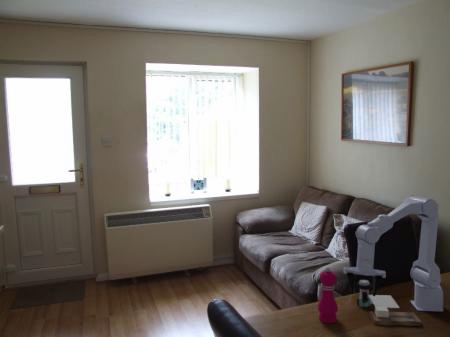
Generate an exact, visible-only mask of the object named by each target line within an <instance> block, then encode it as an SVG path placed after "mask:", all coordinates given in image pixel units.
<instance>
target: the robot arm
mask: <svg viewBox="0 0 450 337" xmlns="http://www.w3.org/2000/svg"><path fill="white" fill-rule="evenodd" d="M438 212H439V203H437V201H436V200H434V199H433V198H427V197H423V196H418V195H414V194H411V195H409V196H408V197H407V198H404V200H403V202H402V203H401V204H400V205H398V206H396V208H394V209H393V210H392V211H391V212H389V213H387V214H384V213H383V214H379V215H377V217H376V218H374V219H373V220H372V221H369V222H367V224H362V225H359V226H358V227H357V229H356V231H354V232H355V237H356V239H357V253H356V254H357V256H356V266H350V267H349V266H348V267H346V266H344V267H343V274H345V275H346V277H347V279H348V283H349V289H350V295H354V293H355V292H354V291H355V290H354V289H355V288H354V287H355V275H360V276H367V277H368V276H371V277H372V287H371V295H373V296H375V295H377V292H378V290H379V287H380V286H381V285H382V284H383V282H384V279H386V277H387V274H386V273H387V272H386V271H385V270H381V269H374V263H375V262H374V261H375V249H376V248H375V247H376V243H377V242H378V241H379V239H380V237H381V236H382V235H384V233H386V232H388V231H389V230H391V229H392V228H393V227H394V223H396V222H397V221H399V220H401V219H402V218H405V217H406V216H407V215H410V214H414V215H416V216H417V217H418V218H419V219H420V220H421V229H420V236H419V248H418V249H419V250H418V258H417V260H415V261H413V262H412V267H411V269H410V273H409V274H410V277H411V279H412V280H413V283H414V298H413V300H410V301H409V302H410V303H411V305H412V306H413V307H414V308H415V309H416V310H417V311H419V312H444V291H443V288H442V286H441V285H440V284H441V282H442V276H441V273H440V272H441V269H440V268H439V266H438V265H437V264H436V262H435V258H436V248H437V247H436V246H437V238H438V237H437V236H438V226H439V213H438Z"/></svg>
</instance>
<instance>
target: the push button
mask: <svg viewBox="0 0 450 337" xmlns="http://www.w3.org/2000/svg"><path fill="white" fill-rule="evenodd" d="M356 285H357V288H358V290H359V298H357V299H356V305H357V306H358V307H359V308H367V307H370V306H371V304H373V303H372V301H373V300H371V299H370V298H369V295H370V294H369V293H370V290H372V287H373V283H371V282H370V281H369V280H367V279H359V281H357V283H356Z"/></svg>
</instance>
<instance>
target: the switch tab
mask: <svg viewBox="0 0 450 337" xmlns="http://www.w3.org/2000/svg"><path fill="white" fill-rule="evenodd" d="M374 311H375V314H376V316H377V317H389V312H390V311H389V308H387V307H375V306H374Z"/></svg>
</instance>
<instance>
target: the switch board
mask: <svg viewBox="0 0 450 337" xmlns="http://www.w3.org/2000/svg"><path fill="white" fill-rule="evenodd" d="M368 313H369V314H368V315H369V317H370V319H371V321H372V323H373V324H374V325H375V326H376V325H378V326H379V325H381V326H407V327H408V326H414V327H421V326H422V321H421V319H420V318H419V317H418V316H417V315H416V314H415V312H412V311H411V312H408V311H407V312H406V311H389V317H377V316H376V314H375V310H373V311H372V310H371V311H369V312H368Z"/></svg>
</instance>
